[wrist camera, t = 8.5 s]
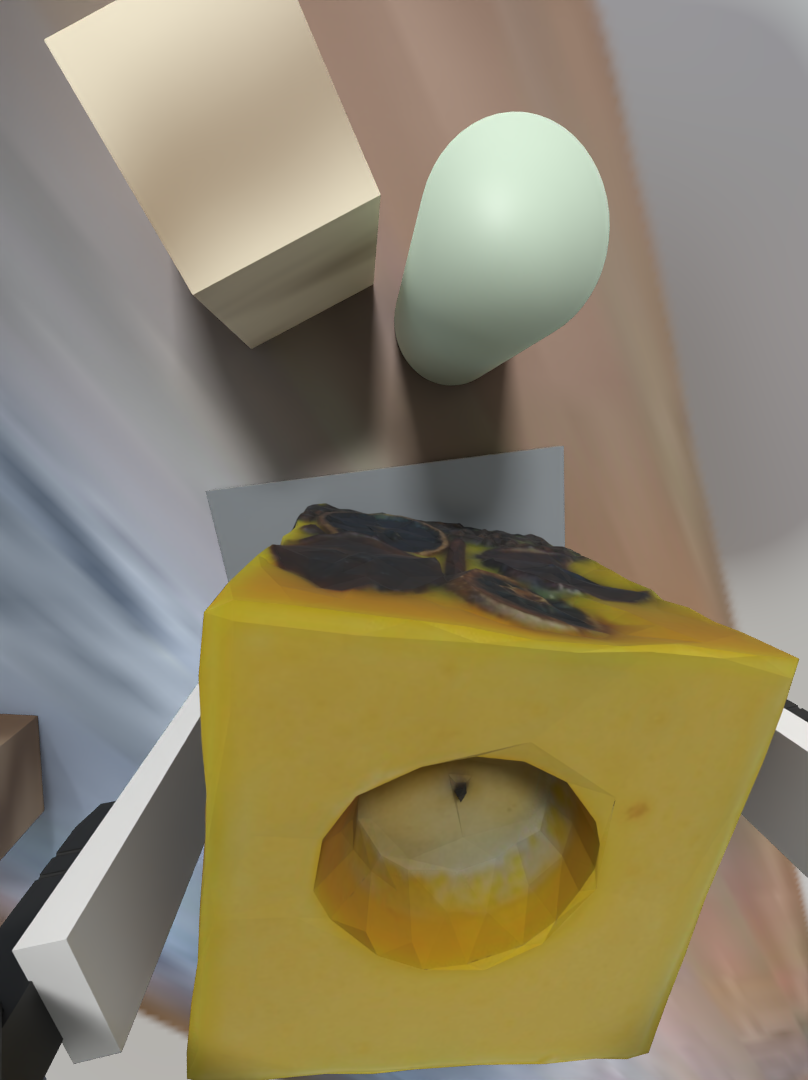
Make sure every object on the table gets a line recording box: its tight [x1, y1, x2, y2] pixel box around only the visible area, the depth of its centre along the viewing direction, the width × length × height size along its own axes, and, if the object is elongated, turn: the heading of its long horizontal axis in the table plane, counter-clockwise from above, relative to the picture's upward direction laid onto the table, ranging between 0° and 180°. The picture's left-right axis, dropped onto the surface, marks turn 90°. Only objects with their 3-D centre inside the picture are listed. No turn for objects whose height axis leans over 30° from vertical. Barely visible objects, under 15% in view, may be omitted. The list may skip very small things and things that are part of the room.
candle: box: [187, 503, 799, 1080], centre depth 11 cm, size 10×10×10 cm
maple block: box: [44, 0, 380, 349], centre depth 11 cm, size 5×5×5 cm
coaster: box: [206, 446, 565, 582], centre depth 16 cm, size 14×14×1 cm
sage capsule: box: [394, 112, 610, 386], centre depth 11 cm, size 4×4×6 cm
